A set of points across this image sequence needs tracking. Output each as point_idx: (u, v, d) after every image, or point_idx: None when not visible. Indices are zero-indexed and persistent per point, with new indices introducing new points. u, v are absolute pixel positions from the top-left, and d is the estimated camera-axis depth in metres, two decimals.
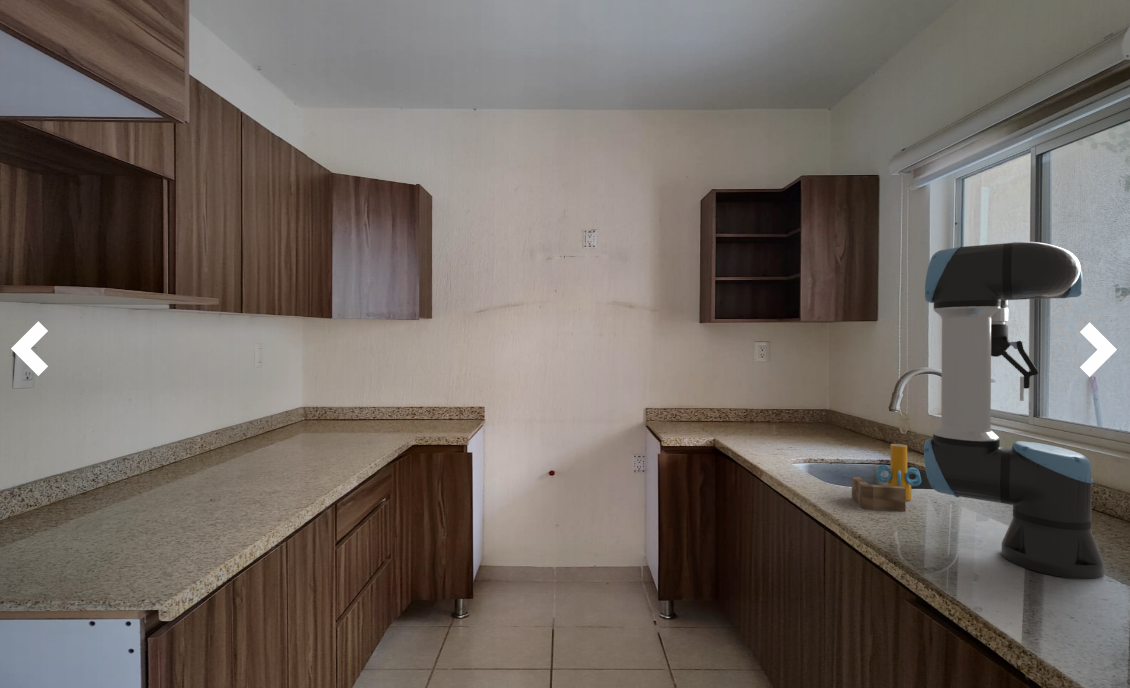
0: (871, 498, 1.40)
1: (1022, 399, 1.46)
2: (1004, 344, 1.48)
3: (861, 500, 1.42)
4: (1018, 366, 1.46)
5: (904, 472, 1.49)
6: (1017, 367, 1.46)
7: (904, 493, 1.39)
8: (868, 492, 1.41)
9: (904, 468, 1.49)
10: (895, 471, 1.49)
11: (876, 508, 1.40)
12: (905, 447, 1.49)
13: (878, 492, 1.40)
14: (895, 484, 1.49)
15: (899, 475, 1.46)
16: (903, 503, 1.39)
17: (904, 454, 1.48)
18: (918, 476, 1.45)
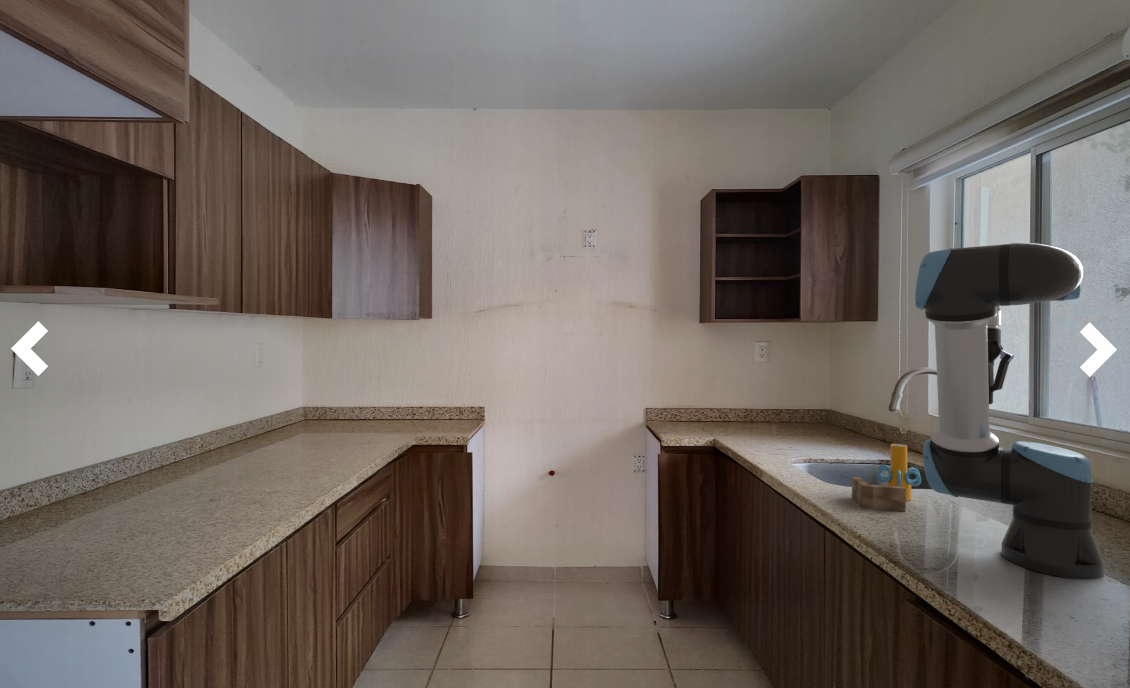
0: (871, 498, 1.40)
1: None
2: (994, 349, 1.39)
3: (861, 500, 1.42)
4: (987, 379, 1.40)
5: (904, 472, 1.49)
6: None
7: (904, 493, 1.39)
8: (868, 492, 1.41)
9: (904, 468, 1.49)
10: (895, 471, 1.49)
11: (876, 508, 1.40)
12: (905, 447, 1.49)
13: (878, 492, 1.40)
14: (895, 484, 1.49)
15: (899, 475, 1.46)
16: (903, 503, 1.39)
17: (904, 454, 1.48)
18: (918, 476, 1.45)
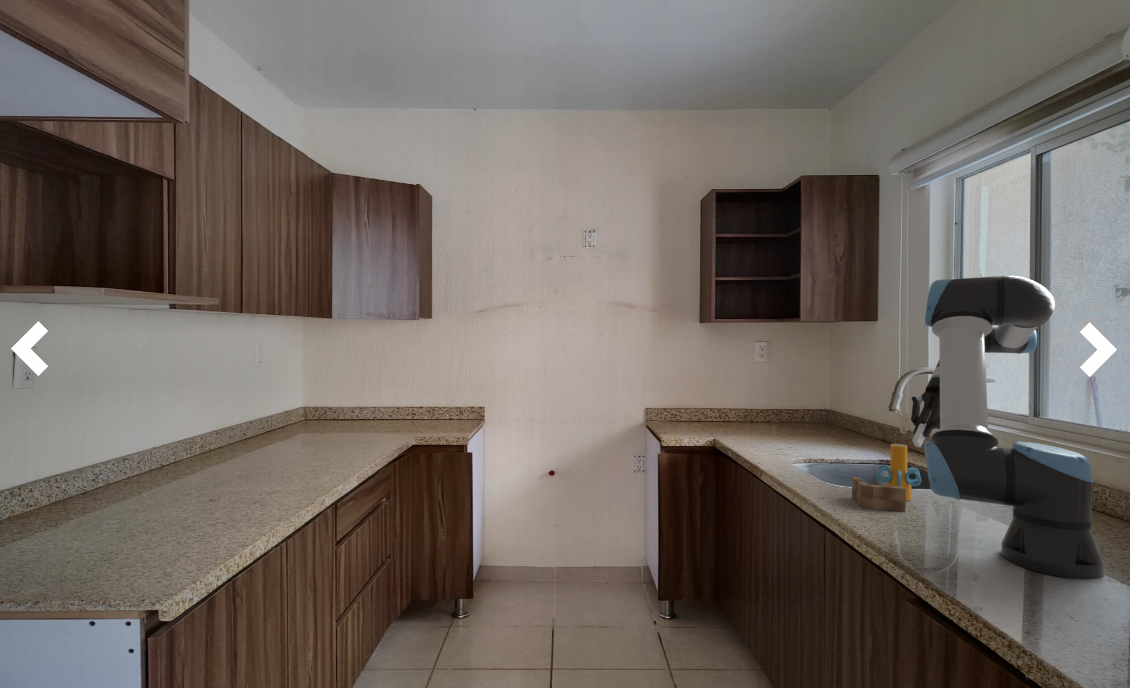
0: (871, 498, 1.40)
1: (917, 440, 1.55)
2: None
3: (861, 500, 1.42)
4: (932, 416, 1.58)
5: (904, 472, 1.49)
6: (930, 416, 1.58)
7: (904, 493, 1.39)
8: (868, 492, 1.41)
9: (904, 468, 1.49)
10: (895, 471, 1.49)
11: (876, 508, 1.40)
12: (905, 447, 1.49)
13: (878, 492, 1.40)
14: (895, 484, 1.49)
15: (899, 475, 1.46)
16: (903, 503, 1.39)
17: (904, 454, 1.48)
18: (918, 476, 1.45)
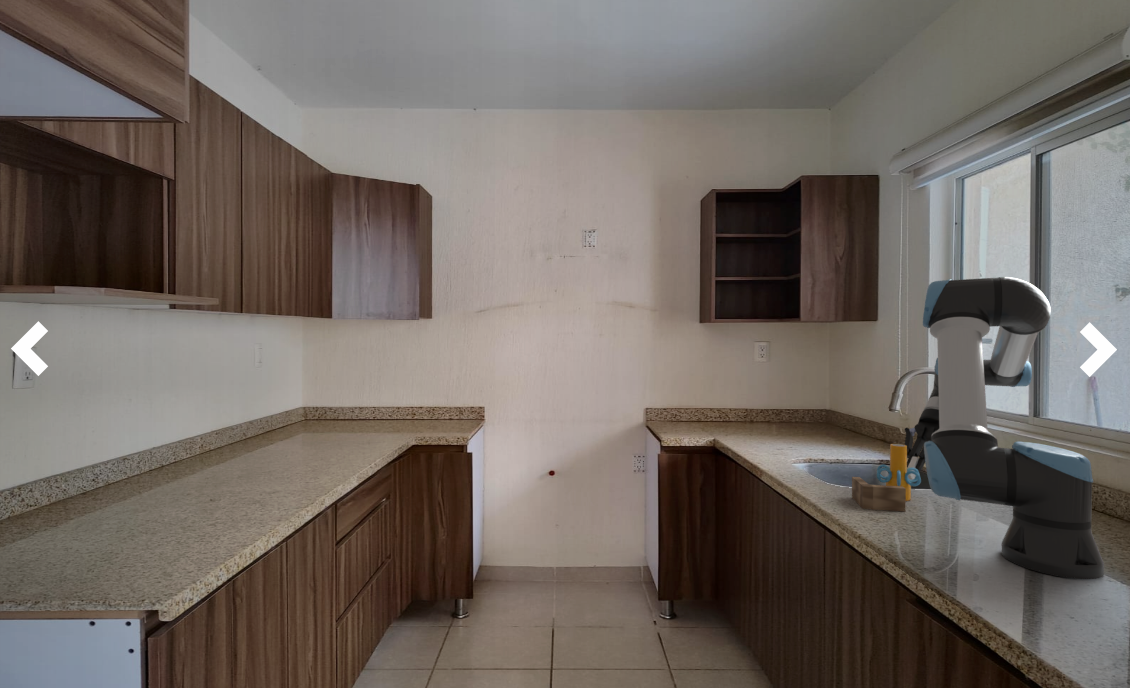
0: (871, 498, 1.40)
1: None
2: None
3: (861, 500, 1.42)
4: None
5: (904, 472, 1.48)
6: (923, 448, 1.56)
7: (904, 493, 1.39)
8: (868, 492, 1.41)
9: (904, 468, 1.48)
10: (895, 471, 1.49)
11: (876, 508, 1.40)
12: (905, 447, 1.48)
13: (878, 492, 1.40)
14: (895, 484, 1.48)
15: (899, 475, 1.45)
16: (903, 503, 1.39)
17: (903, 454, 1.48)
18: (918, 476, 1.45)
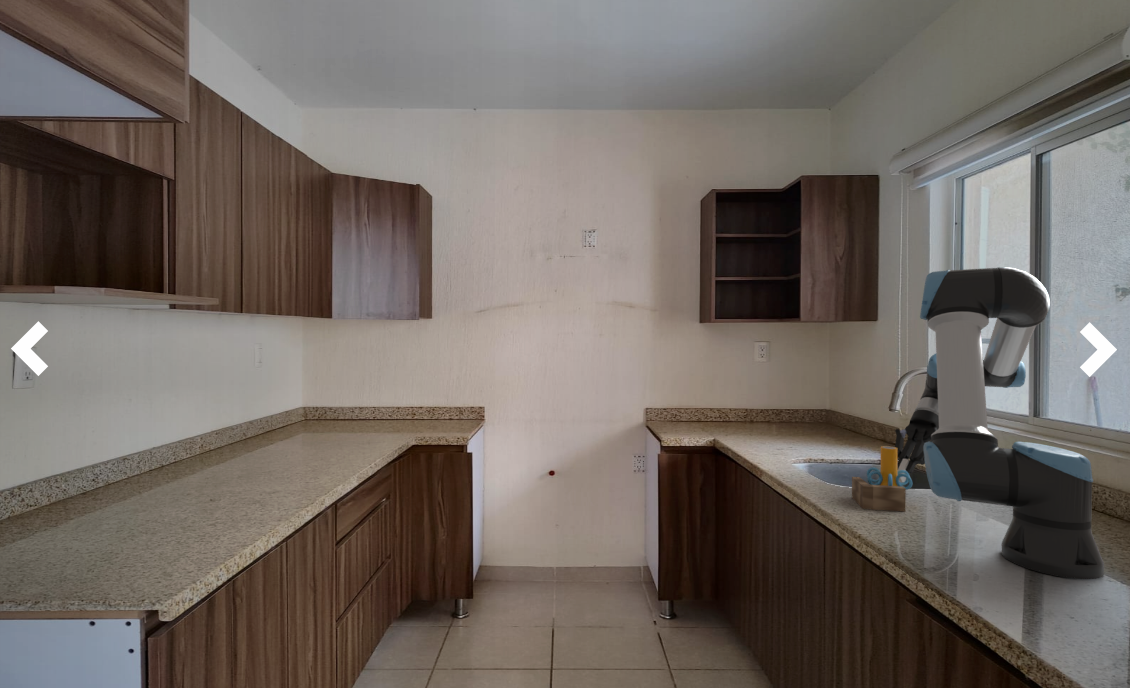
0: (871, 498, 1.40)
1: None
2: (931, 430, 1.54)
3: (861, 500, 1.42)
4: (915, 450, 1.53)
5: (895, 475, 1.45)
6: (914, 450, 1.53)
7: (904, 493, 1.39)
8: (868, 492, 1.41)
9: (895, 471, 1.45)
10: (886, 474, 1.46)
11: (876, 508, 1.40)
12: (895, 450, 1.45)
13: (878, 492, 1.40)
14: None
15: (890, 479, 1.42)
16: (903, 503, 1.39)
17: (894, 457, 1.45)
18: (909, 479, 1.42)
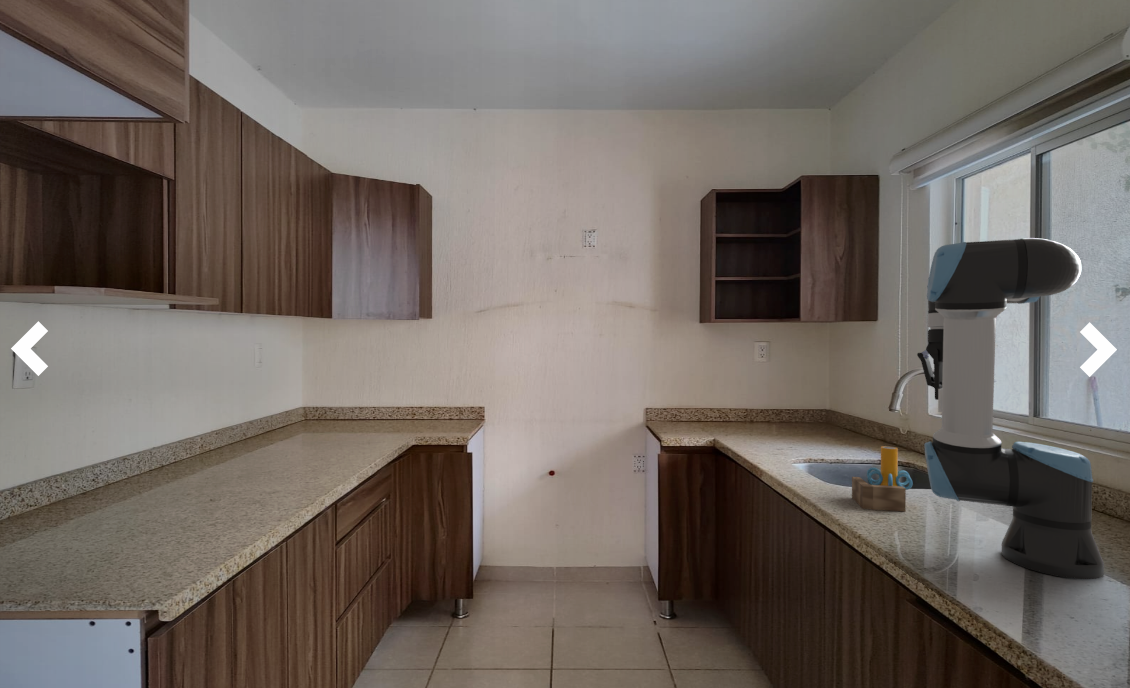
0: (871, 498, 1.40)
1: None
2: None
3: (861, 500, 1.42)
4: None
5: (895, 475, 1.45)
6: None
7: (904, 493, 1.39)
8: (868, 492, 1.41)
9: (895, 471, 1.45)
10: (886, 474, 1.46)
11: (876, 508, 1.40)
12: (896, 450, 1.45)
13: (878, 492, 1.40)
14: None
15: (891, 478, 1.42)
16: (903, 503, 1.39)
17: (895, 457, 1.45)
18: (909, 479, 1.42)
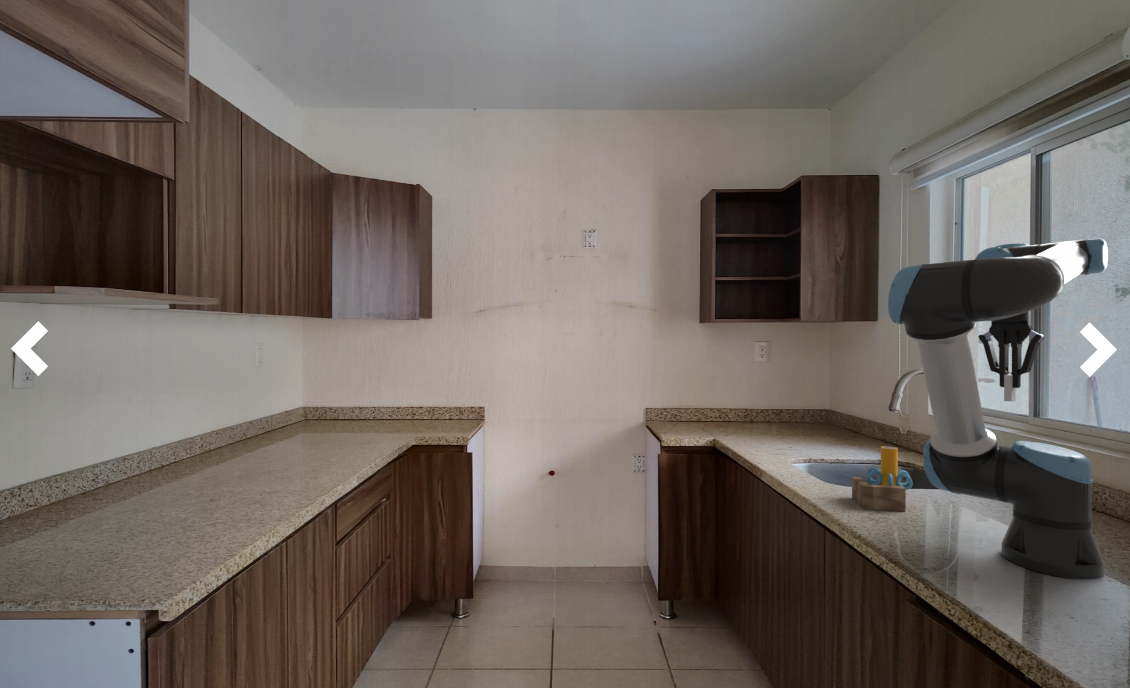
0: (871, 498, 1.40)
1: (1010, 399, 1.33)
2: (1024, 329, 1.30)
3: (861, 500, 1.42)
4: (1015, 361, 1.32)
5: (895, 475, 1.45)
6: (1013, 361, 1.32)
7: (904, 493, 1.39)
8: (868, 492, 1.41)
9: (895, 471, 1.45)
10: (886, 474, 1.46)
11: (876, 508, 1.40)
12: (896, 450, 1.45)
13: (878, 492, 1.40)
14: None
15: (891, 479, 1.42)
16: (903, 503, 1.39)
17: (895, 457, 1.45)
18: (909, 479, 1.42)
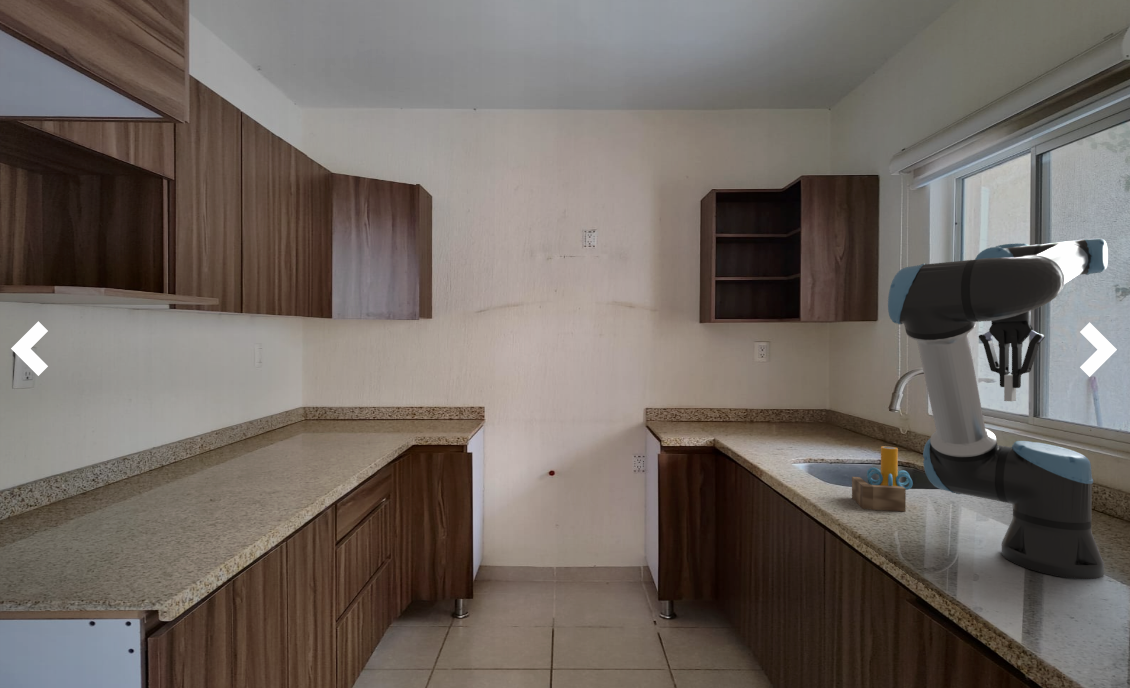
0: (871, 498, 1.40)
1: (1010, 399, 1.33)
2: (1024, 329, 1.30)
3: (861, 500, 1.42)
4: (1015, 361, 1.32)
5: (895, 475, 1.45)
6: (1013, 361, 1.32)
7: (904, 493, 1.39)
8: (868, 492, 1.41)
9: (895, 471, 1.45)
10: (886, 474, 1.46)
11: (876, 508, 1.40)
12: (896, 450, 1.45)
13: (878, 492, 1.40)
14: None
15: (891, 479, 1.42)
16: (903, 503, 1.39)
17: (895, 457, 1.45)
18: (909, 479, 1.42)
